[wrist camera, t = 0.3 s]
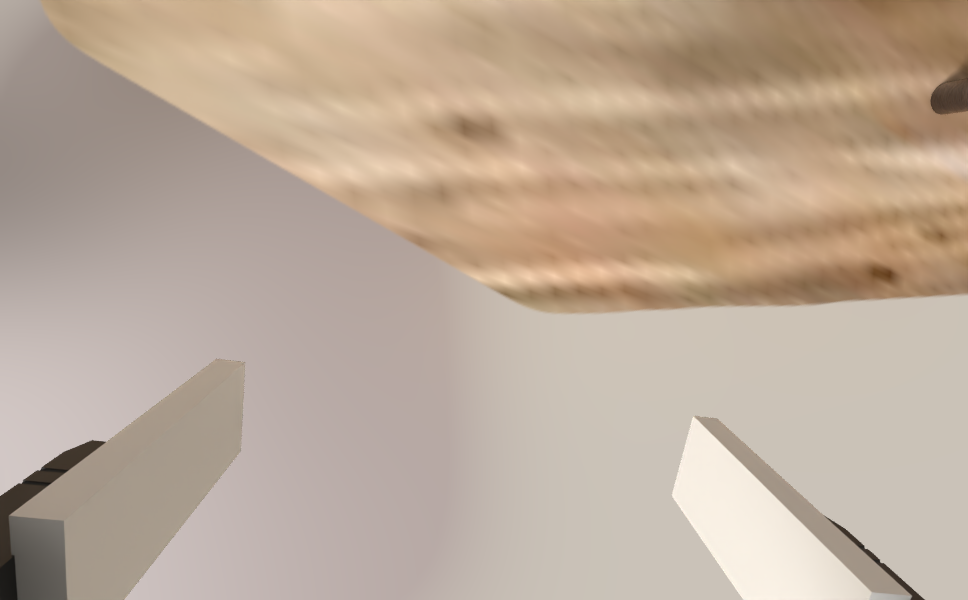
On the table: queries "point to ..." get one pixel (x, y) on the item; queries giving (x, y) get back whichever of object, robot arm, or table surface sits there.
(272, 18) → the table surface
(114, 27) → the table surface
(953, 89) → the post
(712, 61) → the table surface
